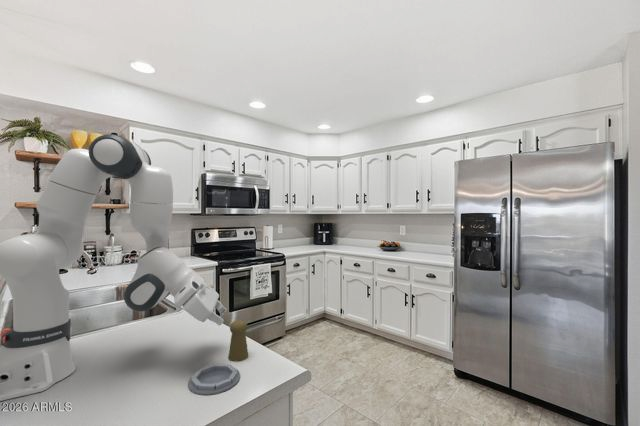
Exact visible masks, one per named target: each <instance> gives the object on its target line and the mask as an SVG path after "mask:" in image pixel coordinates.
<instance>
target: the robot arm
mask: <svg viewBox="0 0 640 426" xmlns="http://www.w3.org/2000/svg"><path fill="white" fill-rule="evenodd" d="M109 178H113V179H122V180H125V181H127V183H128V184H129V186H130V198H129V199H130V200H129V219H130V224H131V226H132V228H134V230H135V231H137V232H138V233H139V234H140V235H141V236H142V237H143V239H144V241H145V247H146V248H145V249H146V251H145V253H143V254H142V255H141V256H140V257H139V258H138V260H137V267H136V270H135V272H134V275H133V277H132V278H131V280H130V281H129V284H127V286H126V288H125V290H124V292H123V300H124V303H125V305H126V306H127V308H129V309H130V310H132V311H134V312H146V311H148V310H151V309H153V308H154V307H156V306H157V305H158V304H160V303H161V301H162V300H164V299H166V298H168V297H169V296H170V295H172V296H173V298H174V300H173V301H174V304H175V305H176V307H178V308H183V310H184V311H185V312H186V313H188V314H189V315H191V316H192V318H194V319H196V320H197V321H199V322H201V323H205V322H206V321H207V320H208V321H211V322H212V323H215V324H216V325H218V326H222V324H224V321H225V320H224V318H223V317H222V316H224V315H225V314H226V313H227V310H228V309H227V308H226V307H224V305H223V303H221V301H220V300H219V298H220V294H219V293H218V292H217V291H216V290H215V289H214V288H212V287H211V286H210V285H208V283H206V281H205V279H204V278H203V277H202V276H201V275H200V274H199V273H197V271H195V270H194V269H192V268H190V267H189V266H187V265H186V263H185V261H184V260H183V259H181V258H180V257H179V256H178V255H177V254H176V253H175V252H173V251H171V250H170V249H169V247H170V241H169V240H170V239H169V236H170V231H171V223H172V219H173V218H172V216H173V209H174V208H173V206H174V188H173V180H172V176H171V174H170V172H169V171H168V170H166V169H165V168H163V167H160V166H156V165H152V161H151V156H150V155H149V154H148V152H147V151H146V150H145V149H143V148H142V147H141V146H140V145H139V144H137V143H136V142H134V141H132V140H129V139H127V138H125V137H123V136H122V135H118V134H108V133H107V134H103V135H100V136H99V135H98V137H95V138H94V139H93V140H92V142H91V143H90V144H89V147H88V149H85V148H72V149H69V150H68V151H66V152H65V154H64V155H63V156H62V157H61V158H60V160H59V161H58V162H57V164H56V166H54V169H53V170H52V172H51V174H50V176H49V178H48V180H47V182H46V184H45V187H44V188H43V190H42V193H41V195H40V197H39V199H38V201H37V202H36V211H37V213H38V215H39V217H38V218H39V219H38V226H37V230H36V232H34V233H28V234H27V233H26V234H19V235H17V236H14V237H12V238H9V239H6V240H3V241H2V242H0V277H2V278H3V279H4V281H5V282H6V284H7V286H8V289H9V291H10V295H11V300H12V310H13V311H12V312H13V313H12V317H13V318H12V320H13V321H12V322H13V323H12V328H10V327H6V328H3V329H2V330H1V331H0V337H1V339H0V344H1V346H0V402H2V401H7V400H10V399H14V398H15V399H16V398H19V397H24V396H27V395H33V394H36V393H41V392H43V391H46V390H48V389H49V388H50V387H52V386H53V385H54V384H56V383H58V382H60V381H62V380H64V379H65V378H67V377H69V376H71V375H72V374H73V373H74V372H75V370H76V364H75V362H74V358H73V355H72V349H71V341H70V340H71V339H72V338H71V337H72V321H71V319H70V292H69V291H68V289H67V288H65V287H64V284H63V282H62V279H61V276H60V270H62V269H65V268H67V267H70V266H71V265H73V264H74V263H76V262H77V261H78V260H79V259H81V258H82V256H83V254H84V250H85V246H84V242H83V237H84V234H85V233H84V232H85V226H86V223H87V219H88V217H89V214H90V212H91V210H92V207H93V204H94V203H95V201H96V198H97V197H98V196H97V195H98V194H99V191H100V189H101V187H102V186H103V183H104V182H105V181H106V180H107V179H109ZM215 309H216V310H217V311H218V313H219V314H221V315H222V316H220V315H218V314H216V312H215V311H214V310H215Z"/></svg>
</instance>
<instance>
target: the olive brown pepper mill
mask: <svg viewBox="0 0 640 426" xmlns="http://www.w3.org/2000/svg"><path fill="white" fill-rule="evenodd" d="M229 330H230V333H231V337H230V342H229V343H230V344H229V351H228V358H227V359H228V361H230V362H233V363H234V362H241V361H245V360H247V359H248V358H249V353H248V350H249V349H248V343H247V342H248V341H247V334H246V332H247V330H248V323H247V321H245V320H241V319H239V320H234V321H233V322H231V323H230V327H229Z"/></svg>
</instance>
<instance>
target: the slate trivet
mask: <svg viewBox="0 0 640 426" xmlns="http://www.w3.org/2000/svg"><path fill="white" fill-rule="evenodd" d="M240 378H241V373H240V370H238V369H237V368H235V367H234V366H233V365H232V364H229V363H227V364H226V363H215V364H213V363H212V364H211V365H207V366H204V367H201V368H199V369H198V370H196V372H195V373H194V374H193V375H192V376H191V377H189V379H188V382H187V386H188V389H189V391H190V392H191V393H193V394H195V395H198V396H213V395H219V394H221V393H224V392H227V391H229V390H231V389H233V388H234V387H235V386H236V385H238V383H239V381H240Z"/></svg>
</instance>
